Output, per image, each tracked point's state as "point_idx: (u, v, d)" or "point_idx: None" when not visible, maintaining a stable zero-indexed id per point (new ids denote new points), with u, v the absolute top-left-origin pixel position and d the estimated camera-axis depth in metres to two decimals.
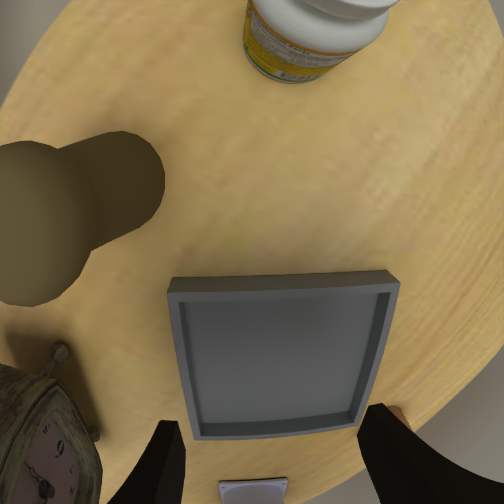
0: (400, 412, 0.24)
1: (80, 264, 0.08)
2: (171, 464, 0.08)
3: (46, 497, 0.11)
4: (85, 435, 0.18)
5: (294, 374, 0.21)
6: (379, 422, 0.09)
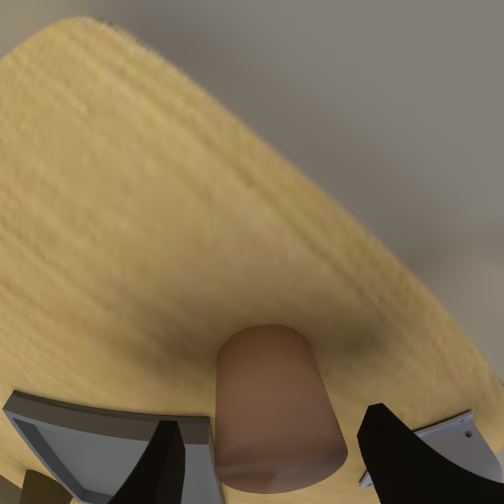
0: (224, 356, 0.13)
1: None
2: (171, 464, 0.08)
3: None
4: None
5: (132, 466, 0.16)
6: (379, 422, 0.09)
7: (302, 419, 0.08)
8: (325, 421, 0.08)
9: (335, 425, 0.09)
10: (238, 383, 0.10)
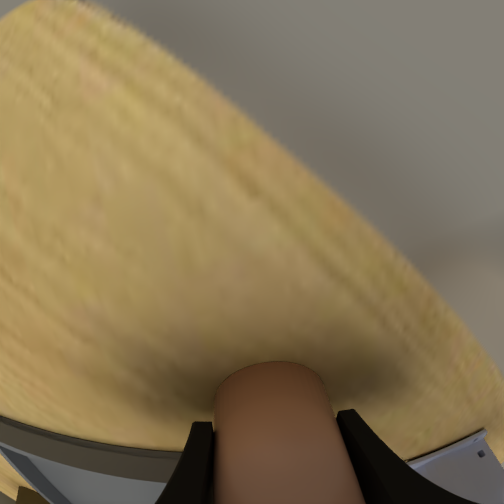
0: (222, 399, 0.10)
1: None
2: (209, 466, 0.08)
3: None
4: None
5: (126, 494, 0.14)
6: (347, 429, 0.09)
7: (318, 489, 0.06)
8: (345, 487, 0.06)
9: (356, 488, 0.06)
10: (240, 440, 0.08)
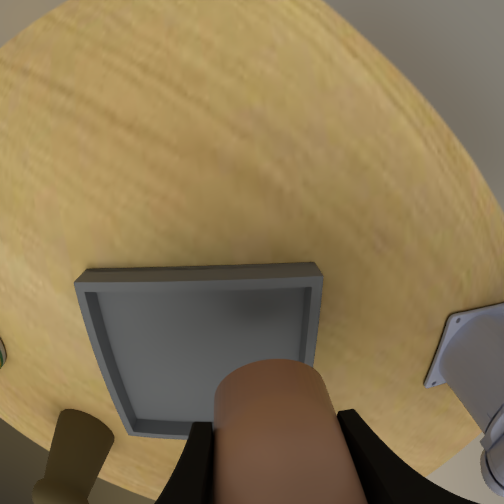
0: (224, 395, 0.10)
1: (59, 498, 0.13)
2: (209, 466, 0.08)
3: None
4: None
5: (216, 353, 0.19)
6: (347, 429, 0.09)
7: (323, 486, 0.06)
8: (348, 485, 0.06)
9: (358, 486, 0.06)
10: (242, 436, 0.08)
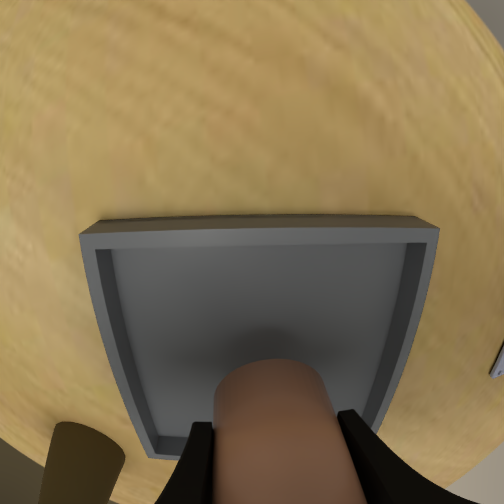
0: (223, 395, 0.10)
1: None
2: (209, 466, 0.08)
3: None
4: None
5: (283, 344, 0.14)
6: (347, 429, 0.09)
7: (322, 487, 0.06)
8: (348, 486, 0.06)
9: (358, 486, 0.06)
10: (242, 436, 0.08)
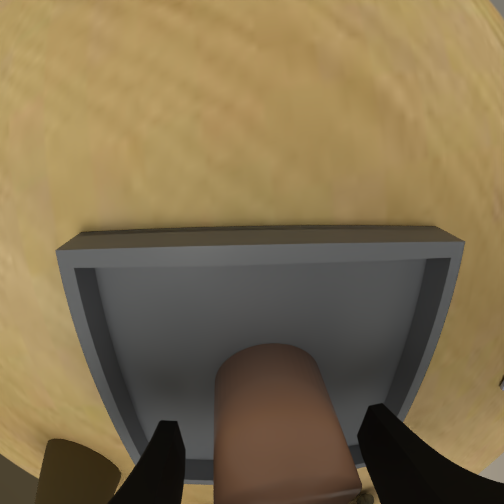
0: (224, 377, 0.11)
1: None
2: (171, 464, 0.08)
3: None
4: None
5: None
6: (379, 422, 0.09)
7: (316, 459, 0.07)
8: (341, 459, 0.07)
9: (351, 461, 0.07)
10: (242, 413, 0.09)
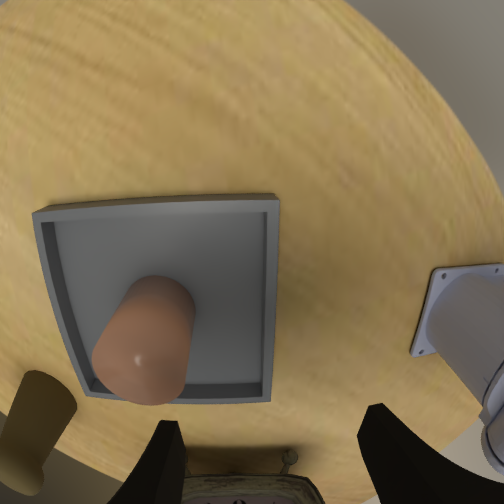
0: (124, 296, 0.17)
1: (9, 459, 0.12)
2: (171, 464, 0.08)
3: None
4: (244, 479, 0.21)
5: None
6: (379, 422, 0.09)
7: (142, 327, 0.12)
8: (161, 335, 0.13)
9: (172, 342, 0.13)
10: (119, 308, 0.14)
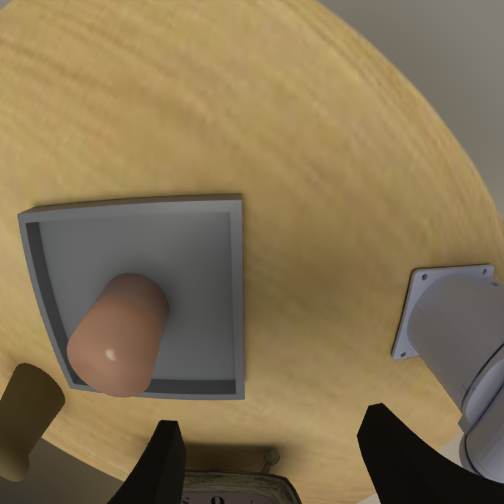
0: None
1: None
2: (171, 464, 0.08)
3: None
4: (223, 476, 0.21)
5: None
6: (379, 422, 0.09)
7: (110, 323, 0.13)
8: (127, 330, 0.13)
9: (137, 336, 0.13)
10: (93, 305, 0.15)
